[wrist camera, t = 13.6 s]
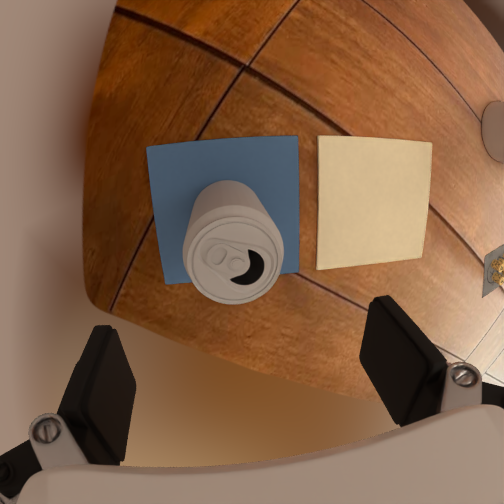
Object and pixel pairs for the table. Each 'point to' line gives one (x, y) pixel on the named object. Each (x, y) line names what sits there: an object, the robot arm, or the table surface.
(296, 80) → the table surface
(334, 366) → the table surface
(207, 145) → the blue mat
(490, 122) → the mug
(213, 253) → the beverage can
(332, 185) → the cream mat
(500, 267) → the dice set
